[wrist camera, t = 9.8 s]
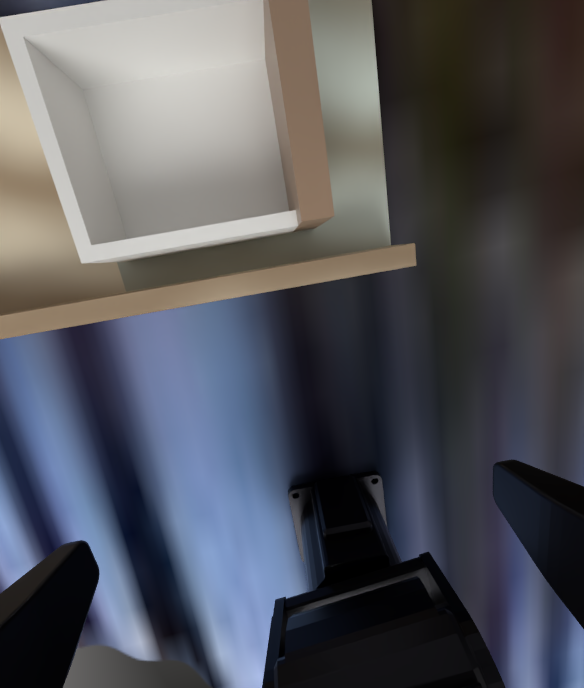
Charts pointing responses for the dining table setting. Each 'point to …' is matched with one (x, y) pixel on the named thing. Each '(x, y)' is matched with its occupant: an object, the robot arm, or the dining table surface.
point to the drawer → (176, 121)
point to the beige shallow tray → (214, 262)
